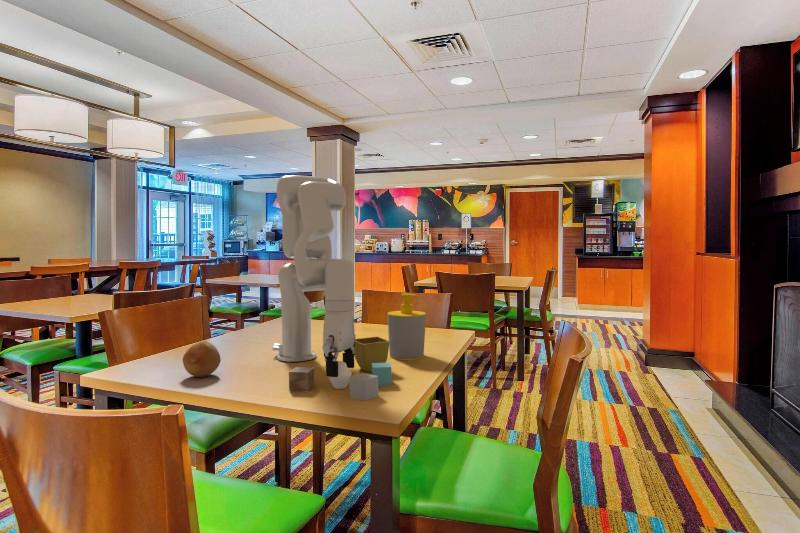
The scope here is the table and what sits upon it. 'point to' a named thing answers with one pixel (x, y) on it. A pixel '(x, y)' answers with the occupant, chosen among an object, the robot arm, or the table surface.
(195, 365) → the onion
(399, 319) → the soap bottle
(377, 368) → the teal cube
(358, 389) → the grey cube
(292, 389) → the walnut cube
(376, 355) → the flower pot
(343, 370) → the muffin
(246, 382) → the table surface
